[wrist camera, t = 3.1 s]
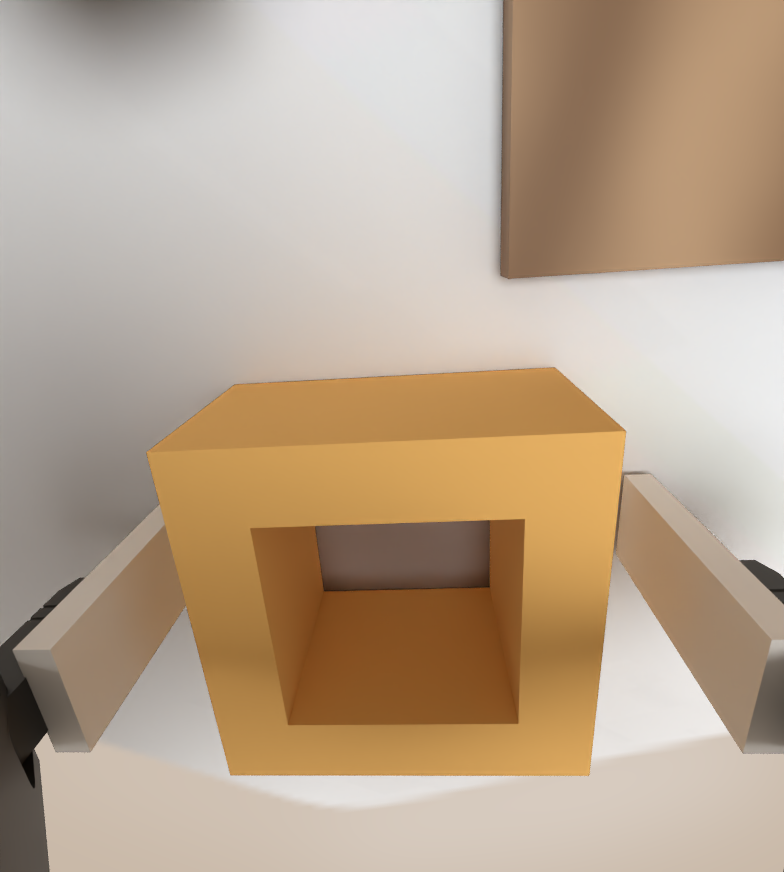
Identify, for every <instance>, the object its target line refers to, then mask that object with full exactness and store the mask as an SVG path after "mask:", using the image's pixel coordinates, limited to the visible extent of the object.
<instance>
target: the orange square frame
mask: <svg viewBox="0 0 784 872" xmlns="http://www.w3.org/2000/svg"><path fill="white" fill-rule="evenodd" d="M625 437H626V431H625V430H624V429H623V428H622V427H621V426H620V425H619V424H618V423H617V422H615V421H614V420H613V419H612V418H611V417H610V416H609V415H608V414H606V413H605V412H604V411H603V410H602V409H601V408H600V407H599V406H597V405H596V404H595V403H594V402H593V401H592V400H591V399H590V398H589V397H587V396H586V395H585V394H584V393H583V392H582V391H581V390H580V389H578V388H577V387H576V386H575V385H574V384H573V383H572V382H571V381H569V380H568V379H567V378H566V377H565V376H564V375H563V374H562V373H561V372H559V371H558V370H557V369H556V368H536V369H517V370H499V371H480V372H461V373H442V374H423V375H405V376H386V377H367V378H348V379H330V380H311V381H292V382H273V383H255V384H236V385H233V386H232V387H231V388H229V389H228V390H227V391H226V392H224V393H223V394H222V395H220V396H219V397H218V398H216V399H215V400H214V401H213V402H211V403H210V404H209V405H207V406H206V407H205V408H203V409H202V410H201V411H199V412H198V413H197V414H196V415H194V416H193V417H192V418H190V419H189V420H188V421H186V422H185V423H184V424H183V425H181V426H180V427H179V428H177V429H176V430H175V431H173V432H172V433H171V434H169V435H168V436H167V437H166V438H164V439H163V440H162V441H160V442H159V443H158V444H156V445H155V446H154V447H153V448H151V449H150V450H149V451H147V452H146V454H147V458H148V462H149V465H150V469H151V473H152V477H153V481H154V484H155V488H156V492H157V496H158V500H159V504H160V507H161V511H162V515H163V519H164V523H165V527H166V530H167V534H168V538H169V542H170V546H171V550H172V553H173V557H174V561H175V565H176V569H177V572H178V576H179V580H180V584H181V588H182V592H183V595H184V599H185V603H186V607H187V611H188V615H189V618H190V622H191V626H192V630H193V634H194V638H195V641H196V645H197V649H198V653H199V657H200V660H201V664H202V668H203V672H204V676H205V680H206V683H207V687H208V691H209V695H210V699H211V703H212V706H213V710H214V714H215V718H216V722H217V726H218V729H219V733H220V737H221V741H222V745H223V748H224V752H225V756H226V760H227V764H228V768H229V771H230V775H417V776H589V773H590V764H591V755H592V746H593V736H594V727H595V718H596V708H597V699H598V690H599V680H600V671H601V662H602V652H603V643H604V633H605V624H606V615H607V605H608V596H609V587H610V577H611V568H612V559H613V549H614V540H615V531H616V521H617V512H618V502H619V493H620V484H621V474H622V465H623V456H624V446H625ZM481 520H490V587H485V588H444V589H402V590H361V591H324V588H323V581H322V574H321V567H320V559H319V552H318V545H317V538H316V531H315V526H330V525H360V524H391V523H421V522H451V521H481Z"/></svg>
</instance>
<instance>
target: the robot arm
mask: <svg viewBox="0 0 784 872" xmlns="http://www.w3.org/2000/svg"><path fill="white" fill-rule="evenodd" d="M616 555H617V557H618V558H619V560H620V561H621V563H622V565H623V566H624V568H625V569H626V571H627V572H628V574H629V576H630V577H631V579H632V580H633V582H634V583H635V585H636V587H637V588H638V590H639V591H640V593H641V594H642V596H643V598H644V599H645V601H646V602H647V604H648V605H649V607H650V608H651V610H652V612H653V613H654V615H655V616H656V618H657V619H658V621H659V623H660V624H661V626H662V627H663V629H664V630H665V632H666V634H667V635H668V637H669V638H670V640H671V641H672V643H673V645H674V646H675V648H676V649H677V651H678V652H679V654H680V656H681V657H682V659H683V660H684V662H685V663H686V665H687V667H688V668H689V670H690V671H691V673H692V674H693V676H694V678H695V679H696V681H697V682H698V684H699V685H700V687H701V689H702V690H703V692H704V693H705V695H706V696H707V698H708V700H709V701H710V703H711V704H712V706H713V707H714V709H715V711H716V712H717V714H718V715H719V717H720V718H721V720H722V722H723V723H724V725H725V726H726V728H727V729H728V731H729V733H730V734H731V736H732V737H733V739H734V740H735V742H736V744H737V745H738V747H739V748H740V750H741V751H742V753H743V754H746V753H748V754H755V753H756V754H759V753H760V754H765V753H766V754H773V753H774V754H782V753H783V754H784V578H783V577H782V576H781V575H780V574H779V573H777V572H776V571H774V570H772V569H770V568H768V567H767V566H765V565H763V564H761V563H759V562H758V561H756V560H738V559H737V558H736V557H735V556H734V555H733V554H732V553H731V552H730V551H729V550H728V549H727V548H726V547H725V546H724V545H723V544H722V543H721V542H720V541H719V540H718V539H717V538H716V537H715V536H714V535H713V534H712V533H711V532H710V531H709V530H708V529H707V528H706V527H705V526H704V525H702V524H701V523H700V522H699V521H698V520H697V519H696V518H695V517H694V516H693V515H692V514H691V513H690V512H689V511H688V510H687V509H686V508H685V507H684V506H683V505H682V504H681V503H680V502H679V501H678V500H677V499H676V498H675V497H674V496H673V495H672V494H671V493H670V492H669V491H668V490H667V489H666V488H665V487H664V486H663V485H662V484H661V483H660V482H659V481H658V480H657V479H656V478H655V477H654V476H653V475H652V474H633V475H624V483H623V492H622V501H621V510H620V520H619V529H618V538H617V547H616ZM43 606H44V607H43V608H40V609H39V610H38V611H37V612H36V613H35V614H34V615H33V616H32V617H31V620H30V621H27V622H26V623H25V624H24V625H23V626H22V627H20V628H19V629H18V630H17V631H16V632H15V633H14V634H13V635H12V636H11V637H10V638H9V639H8V640H7V641H6V642H5V643H4V644H3V645H2V646H1V647H0V872H49V861H48V850H47V839H46V829H45V817H44V806H43V797H42V785H41V774H40V763H39V759H38V757H37V754H36V752H35V750H34V748H35V747H36V745H37V744H38V743H39V742H40V740H41V739H42V738H43V736H44V735H45V734H46V733H48V735H49V737H50V739H51V742H52V744H53V747H54V749H55V751H56V752H91V750H92V749H93V747H94V746H95V744H96V743H97V741H98V740H99V738H100V737H101V735H102V734H103V732H104V731H105V729H106V727H107V726H108V724H109V723H110V721H111V720H112V718H113V717H114V715H115V714H116V712H117V711H118V709H119V707H120V706H121V704H122V703H123V701H124V700H125V698H126V697H127V695H128V694H129V692H130V691H131V689H132V687H133V686H134V684H135V683H136V681H137V680H138V678H139V677H140V675H141V674H142V672H143V671H144V669H145V667H146V666H147V664H148V663H149V661H150V660H151V658H152V657H153V655H154V654H155V652H156V651H157V649H158V647H159V646H160V644H161V643H162V641H163V640H164V638H165V637H166V635H167V634H168V632H169V631H170V629H171V627H172V626H173V624H174V623H175V621H176V620H177V618H178V617H179V615H180V614H181V612H182V611H183V609H184V607H185V606H186V603H185V599H184V595H183V592H182V588H181V584H180V580H179V576H178V572H177V569H176V565H175V561H174V557H173V553H172V550H171V546H170V542H169V538H168V534H167V530H166V527H165V523H164V519H163V515H162V511H161V507H160V504H159V505H158V506H157V507H156V508H155V509H154V510H153V511H152V512H151V513H150V514H149V515H148V516H147V517H146V518H145V519H144V520H143V521H142V522H141V523H140V524H139V525H138V526H137V527H136V528H135V529H134V530H133V531H132V532H131V533H130V534H129V535H128V536H127V537H126V538H125V539H124V540H123V541H122V542H121V543H120V544H119V545H118V546H117V547H116V548H115V549H114V550H113V551H112V552H111V553H110V554H109V555H108V556H107V557H106V558H105V559H104V560H103V561H102V562H101V563H100V564H99V565H98V566H97V567H96V568H95V569H94V570H93V571H92V572H91V573H90V574H89V575H88V576H87V577H86V578H79V579H77V580H75V581H74V582H72V583H71V584H69V585H67V586H66V587H64V588H63V589H61V590H59V591H58V592H57V593H56V594H55V595H54V596H53V597H52V598H51V599H50V600H49V601H48V602H47V603H46V604H45V605H43ZM783 872H784V871H783Z"/></svg>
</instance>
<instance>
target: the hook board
mask: <svg viewBox="0 0 784 872" xmlns="http://www.w3.org/2000/svg"><path fill="white" fill-rule="evenodd" d="M770 261H784V0H503V93H502V189H501V276H503V277H505V278H508V279H511V278H526V277H541V276H557V275H572V274H587V273H602V272H618V271H633V270H648V269H663V268H679V267H694V266H709V265H725V264H740V263H755V262H770Z"/></svg>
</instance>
